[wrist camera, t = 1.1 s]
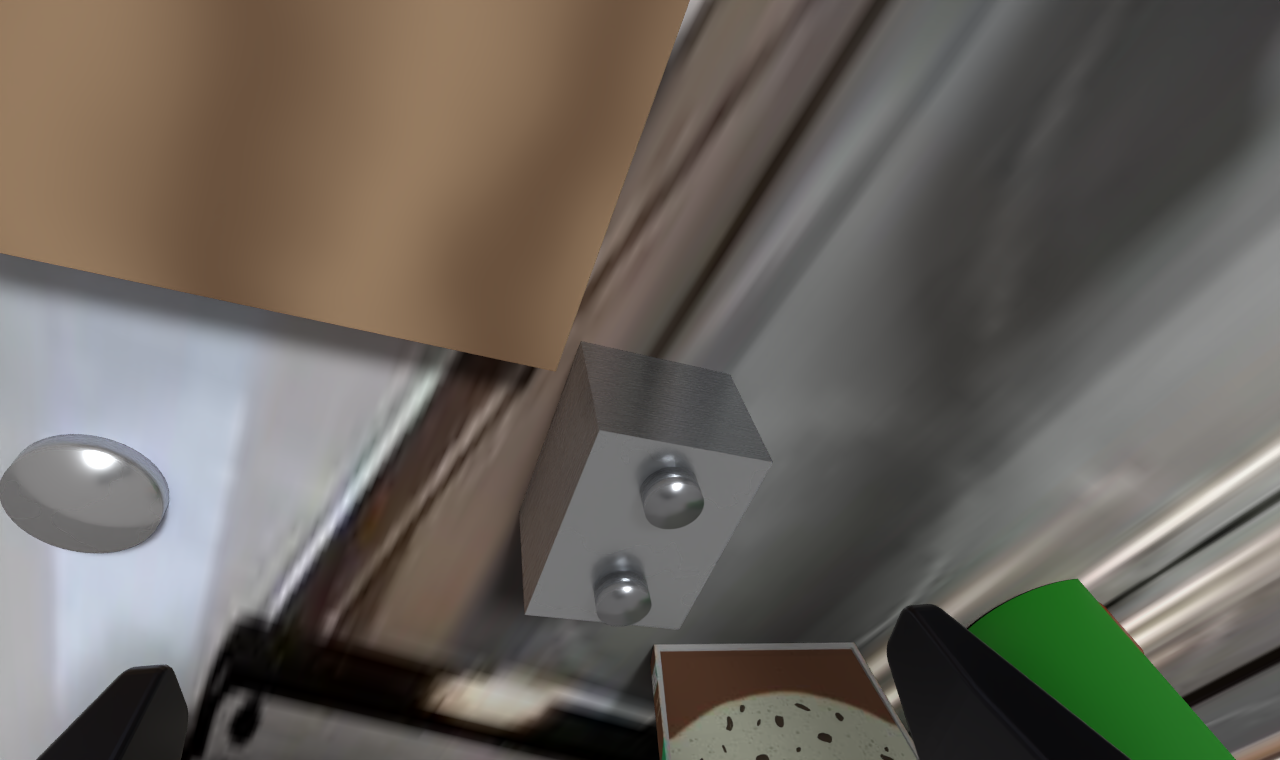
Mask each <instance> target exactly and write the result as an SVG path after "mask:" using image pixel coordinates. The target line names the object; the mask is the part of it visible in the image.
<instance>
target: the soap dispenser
mask: <svg viewBox="0 0 1280 760" xmlns="http://www.w3.org/2000/svg"><path fill="white" fill-rule="evenodd" d="M968 630H969V631H970V632H971V633H972V634H974V635H975V636H976V637H978V638H979V639H980V640H981V641H983V642H984V643H985V644H986V645H988V646H989V647H990V648H991V649H993V650H994V651H995V652H996V653H998V654H999V655H1000V656H1001V657H1003V658H1004V659H1005V660H1007V661H1008V662H1009V663H1010V664H1012V665H1013V666H1014V667H1015V668H1017V669H1018V670H1019V671H1020V672H1022V673H1023V674H1024V675H1025V676H1027V677H1028V678H1029V679H1030V680H1032V681H1033V682H1034V683H1036V684H1037V685H1038V686H1039V687H1041V688H1042V689H1043V690H1044V691H1046V692H1047V693H1048V694H1049V695H1051V696H1052V697H1053V698H1054V699H1056V700H1057V701H1058V702H1059V703H1061V704H1062V705H1063V706H1065V707H1066V708H1067V709H1068V710H1070V711H1071V712H1072V713H1073V714H1075V715H1076V716H1077V717H1078V718H1080V719H1081V720H1082V721H1083V722H1085V723H1086V724H1087V725H1089V726H1090V727H1091V728H1092V729H1094V730H1095V731H1096V732H1097V733H1099V734H1100V735H1101V736H1102V737H1104V738H1105V739H1106V740H1107V741H1109V742H1110V743H1111V744H1112V745H1114V746H1115V747H1116V748H1118V749H1119V750H1120V751H1121V752H1123V753H1124V754H1125V755H1126V756H1128V757H1129V758H1130V759H1131V760H1236V759H1235V758H1234V757H1233V756H1232V755H1231V754H1230V752H1229V751H1228V750H1227V749H1226V748H1225V747H1224V746H1223V744H1222V743H1221V742H1220V741H1219V740H1218V739H1217V738H1216V736H1215V735H1214V734H1213V733H1212V732H1211V731H1210V730H1209V728H1208V727H1207V726H1206V725H1205V724H1204V723H1203V722H1202V720H1201V719H1200V718H1199V717H1198V716H1197V715H1196V714H1195V712H1194V711H1193V710H1192V709H1191V708H1190V707H1189V706H1188V704H1187V703H1186V702H1185V701H1184V700H1183V699H1182V698H1181V696H1180V695H1179V694H1178V693H1177V692H1176V691H1175V690H1174V688H1173V687H1172V686H1171V685H1170V684H1169V683H1168V682H1167V680H1166V679H1165V678H1164V677H1163V676H1162V675H1161V674H1160V672H1159V671H1158V670H1157V669H1156V668H1155V667H1154V666H1153V664H1152V663H1151V662H1150V661H1149V660H1148V659H1147V657H1146V656H1145V655H1144V652H1143V650H1142V649H1141V647H1140V646H1139V645H1138V644H1137V643H1136V642H1135V641H1134V639H1133V638H1132V637H1131V636H1130V635H1129V634H1128V633H1127V631H1126V630H1125V629H1124V628H1123V627H1122V626H1121V625H1120V624H1119V622H1118V621H1117V620H1116V619H1115V618H1114V617H1113V616H1112V614H1111V613H1110V612H1109V611H1108V610H1107V609H1106V608H1105V607H1104V606H1103V605H1102V604H1101V603H1099V602H1098V601H1097V600H1096V599H1095V598H1094V597H1093V596H1092V595H1091V593H1090V592H1089V591H1088V590H1087V589H1086V588H1085V587H1084V585H1083V584H1082V583H1081V582H1080V581H1079V580H1078V579H1073V580H1066V581H1061V582H1057V583H1053V584H1049V585H1046V586H1043V587H1040V588H1037V589H1034V590H1032V591H1029V592H1027V593H1024V594H1022V595H1020V596H1018V597H1016V598H1014V599H1012V600H1010V601H1008V602H1006V603H1004V604H1003V605H1001V606H999V607H997V608H996V609H994V610H993V611H991V612H990V613H988V614H987V615H985V616H984V617H983V618H981V619H980V620H979V621H977V622H976V623H975V624H974V625H972V626H971V627H970V628H969V629H968Z"/></svg>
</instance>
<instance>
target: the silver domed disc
mask: <svg viewBox="0 0 1280 760" xmlns="http://www.w3.org/2000/svg"><path fill="white" fill-rule="evenodd" d="M0 501H1V503H2V506H3V508H4V510H5V511H6V513H7V515H8V516H9V517H10V518H11V519H12V521H13V522H15V523H16V524H17V525H18V526H19V527H20V528H21V529H23V530H24V531H25V532H27V533H28V534H30V535H32V536H33V537H35V538H37V539H39V540H41V541H43V542H45V543H48V544H50V545H53V546H56V547H59V548H62V549H67V550H71V551H77V552H85V553H108V552H116V551H121V550H125V549H128V548H131V547H133V546H136V545H138V544H140V543H141V542H143V541H145V540H146V539H147V538H149V537H150V536H151V535H152V534H153V533H154V531H155V530H156V528H157V527H158V525H159V523H160V521H161V519H162V517H163V515H164V513H165V511H166V509H167V506H168V503H169V489H168V485H167V482H166V480H165V478H164V476H163V475H162V473H161V472H160V470H159V469H158V468H157V467H156V466H155V465H154V464H153V463H152V462H151V461H150V460H149V459H148V458H146V457H145V456H144V455H142V454H141V453H139V452H137V451H136V450H134V449H132V448H130V447H128V446H126V445H124V444H121V443H119V442H116V441H113V440H110V439H106V438H102V437H97V436H91V435H82V434H68V435H58V436H53V437H49V438H45V439H42V440H40V441H37V442H35V443H33V444H31V445H30V446H28V447H27V448H26V449H24V450H23V451H22V452H21V453H20V454H19V456H18V457H17V458H16V459H15V461H14V462H13V463H12V464H11V466H10V467H9V468H8V469H7V471H6V472H5V473H4V475H3V477H2V479H1V481H0Z"/></svg>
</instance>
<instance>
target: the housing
mask: <svg viewBox="0 0 1280 760" xmlns="http://www.w3.org/2000/svg"><path fill="white" fill-rule="evenodd" d="M772 463H773V461H772V459H771V457H770V455H769V453H768V451H767V449H766V447H765V445H764V443H763V441H762V439H761V437H760V435H759V433H758V431H757V429H756V427H755V425H754V422H753V420H752V418H751V416H750V414H749V412H748V410H747V408H746V406H745V404H744V402H743V400H742V398H741V396H740V394H739V392H738V390H737V388H736V386H735V384H734V382H733V380H732V377H731V375H730V374H726V373H722V372H717V371H713V370H708V369H704V368H699V367H695V366H690V365H686V364H681V363H677V362H672V361H668V360H663V359H659V358H654V357H650V356H645V355H641V354H636V353H632V352H627V351H623V350H618V349H614V348H609V347H605V346H600V345H596V344H591V343H587V342H582V341H581V343H580V346H579V348H578V351H577V354H576V357H575V359H574V362H573V365H572V368H571V370H570V373H569V376H568V379H567V381H566V384H565V387H564V390H563V393H562V395H561V398H560V401H559V404H558V406H557V409H556V412H555V415H554V417H553V420H552V423H551V426H550V428H549V431H548V434H547V437H546V439H545V442H544V445H543V448H542V451H541V453H540V456H539V459H538V462H537V464H536V467H535V470H534V473H533V475H532V478H531V481H530V484H529V486H528V489H527V492H526V495H525V497H524V500H523V503H522V506H521V509H520V511H519V516H520V535H521V553H522V572H523V591H524V609H525V615H533V616H543V617H554V618H564V619H574V620H585V621H595V622H603V623H605V624H607V625H611V626H628V625H637V626H647V627H658V628H668V629H679V628H680V627H681V625H682V623H683V621H684V619H685V618H686V616H687V614H688V612H689V611H690V609H691V607H692V605H693V603H694V602H695V600H696V598H697V596H698V595H699V593H700V591H701V589H702V587H703V586H704V584H705V582H706V580H707V579H708V577H709V575H710V573H711V571H712V570H713V568H714V566H715V564H716V563H717V561H718V559H719V557H720V555H721V554H722V552H723V550H724V548H725V547H726V545H727V543H728V541H729V539H730V538H731V536H732V534H733V532H734V531H735V529H736V527H737V525H738V524H739V522H740V520H741V518H742V516H743V515H744V513H745V511H746V509H747V508H748V506H749V504H750V502H751V500H752V499H753V497H754V495H755V493H756V492H757V490H758V488H759V486H760V484H761V483H762V481H763V479H764V477H765V476H766V474H767V472H768V470H769V468H770V467H771V465H772Z"/></svg>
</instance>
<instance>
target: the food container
mask: <svg viewBox="0 0 1280 760" xmlns="http://www.w3.org/2000/svg"><path fill="white" fill-rule="evenodd" d="M650 665H651V675H652V685H653V696H654V706H655V716H656V726H657V736H658V746H659V756H660V760H919V758H918V755H917V752H916V749H915V745H914V742H913V741H912V739H911V737H910V736H909V734H908V732H907V731H906V729H905V727H904V726H903V724H902V722H901V721H900V719H899V717H898V715H897V714H896V712H895V710H894V709H893V707H892V705H891V704H890V702H889V700H888V699H887V697H886V695H885V694H884V692H883V690H882V689H881V687H880V685H879V683H878V682H877V680H876V678H875V677H874V675H873V673H872V672H871V670H870V668H869V667H868V665H867V663H866V662H865V660H864V658H863V657H862V655H861V653H860V652H859V650H858V648H857V646H856V645H855V643H760V644H664V645H654V647H653V651H652V656H651V661H650Z"/></svg>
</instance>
